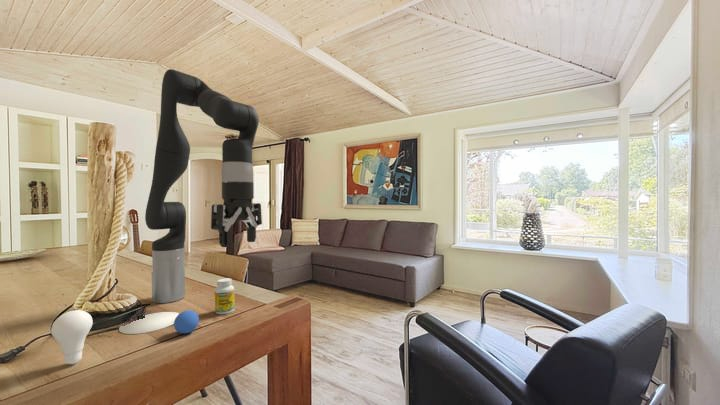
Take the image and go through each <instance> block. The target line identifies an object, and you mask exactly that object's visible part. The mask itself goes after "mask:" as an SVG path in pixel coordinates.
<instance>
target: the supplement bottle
mask: <svg viewBox="0 0 720 405" xmlns="http://www.w3.org/2000/svg"><path fill="white" fill-rule="evenodd" d="M232 283H233V279H232V278H229V277H227V278H220V279H217V280H216V286H217V287H215V289H214V310H215V311H214V312H215V314H217V315H228V314H231V313H233V312H234V311H235V310H236V309H235V306H236V305H235V303H236V302H235V286H233V284H232Z"/></svg>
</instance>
